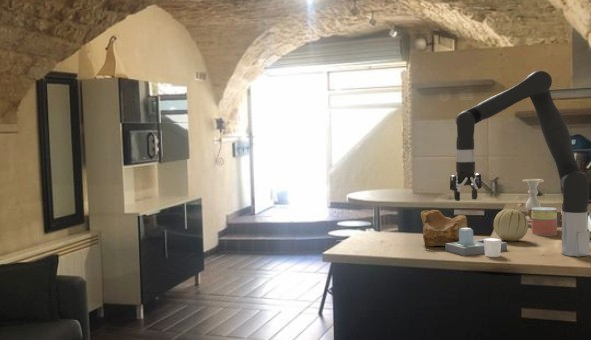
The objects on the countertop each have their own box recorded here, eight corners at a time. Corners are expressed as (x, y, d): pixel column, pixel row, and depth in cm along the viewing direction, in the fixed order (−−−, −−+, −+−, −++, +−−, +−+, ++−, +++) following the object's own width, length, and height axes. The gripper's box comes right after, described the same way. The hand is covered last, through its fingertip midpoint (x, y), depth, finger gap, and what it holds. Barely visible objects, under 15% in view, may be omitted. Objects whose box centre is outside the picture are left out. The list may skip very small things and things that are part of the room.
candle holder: (517, 225, 310) (516, 179, 308) (532, 223, 314) (532, 178, 313) (533, 228, 300) (533, 180, 298) (549, 226, 304) (549, 179, 303)
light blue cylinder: (473, 251, 246) (473, 228, 245) (465, 252, 245) (465, 229, 244) (466, 250, 250) (466, 227, 249) (459, 251, 248) (458, 228, 248)
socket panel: (506, 251, 248) (506, 242, 248) (463, 256, 239) (463, 247, 239) (486, 246, 259) (486, 237, 259) (445, 251, 250) (445, 242, 250)
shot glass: (497, 254, 242) (497, 237, 242) (504, 258, 235) (504, 240, 235) (481, 255, 242) (480, 238, 241) (487, 258, 235) (486, 241, 235)
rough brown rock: (406, 247, 266) (404, 214, 264) (427, 238, 277) (426, 207, 275) (451, 256, 249) (450, 221, 247) (472, 246, 260) (471, 213, 258)
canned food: (561, 235, 279) (561, 209, 278) (536, 236, 279) (536, 210, 279) (551, 231, 290) (551, 206, 290) (527, 231, 291) (527, 207, 290)
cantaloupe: (490, 242, 266) (490, 209, 265) (496, 237, 279) (496, 205, 278) (526, 245, 259) (526, 210, 258) (530, 239, 272) (530, 206, 271)
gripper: (457, 161, 238) (457, 202, 239) (485, 160, 244) (486, 199, 245) (445, 161, 245) (446, 200, 246) (473, 159, 251) (473, 197, 252)
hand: (466, 200), depth 246 cm, fingers open, 8 cm apart
